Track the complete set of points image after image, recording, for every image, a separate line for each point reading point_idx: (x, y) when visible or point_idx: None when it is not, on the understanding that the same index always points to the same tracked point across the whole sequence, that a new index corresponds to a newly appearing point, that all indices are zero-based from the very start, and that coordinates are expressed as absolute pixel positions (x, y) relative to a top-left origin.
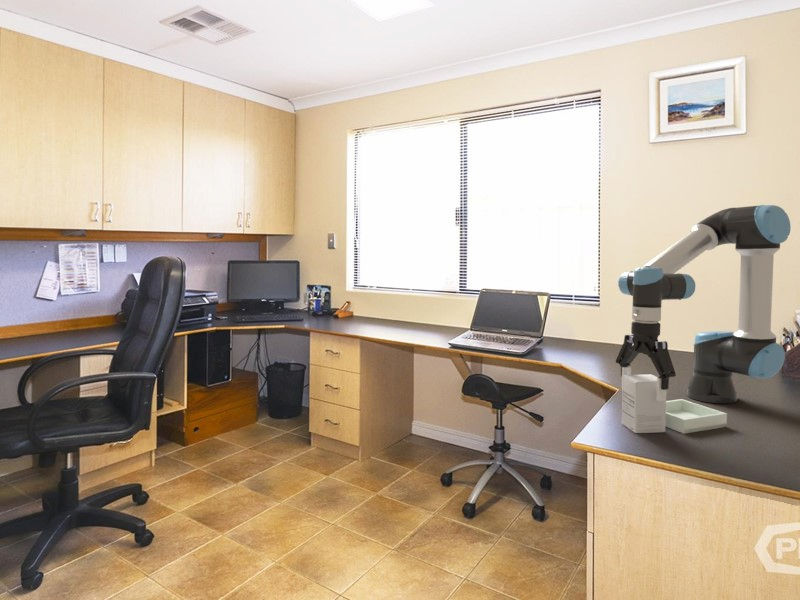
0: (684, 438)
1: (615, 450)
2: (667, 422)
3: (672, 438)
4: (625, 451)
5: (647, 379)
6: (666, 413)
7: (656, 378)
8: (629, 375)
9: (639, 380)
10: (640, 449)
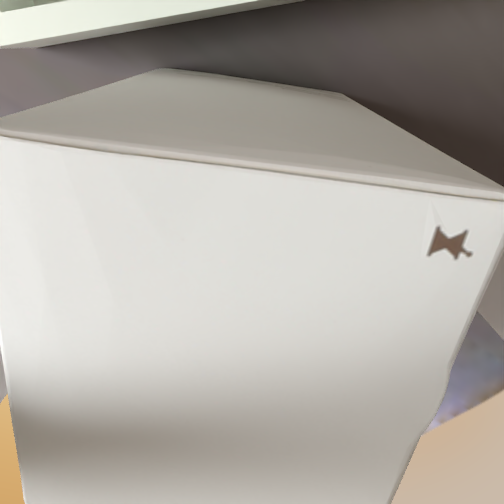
0: (461, 45)
1: (445, 419)
2: (262, 5)
3: (432, 118)
4: (468, 396)
5: (336, 401)
6: (251, 1)
7: (314, 247)
8: (66, 468)
9: (336, 487)
10: (478, 341)
